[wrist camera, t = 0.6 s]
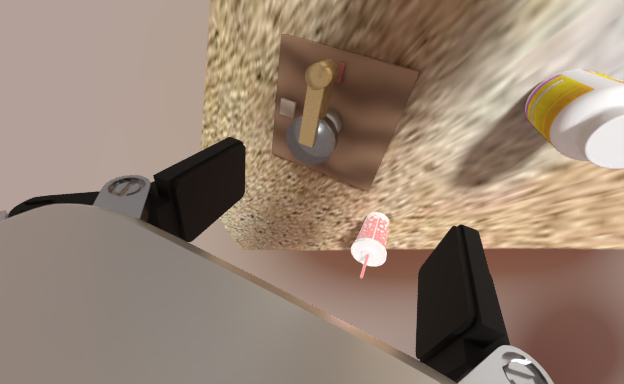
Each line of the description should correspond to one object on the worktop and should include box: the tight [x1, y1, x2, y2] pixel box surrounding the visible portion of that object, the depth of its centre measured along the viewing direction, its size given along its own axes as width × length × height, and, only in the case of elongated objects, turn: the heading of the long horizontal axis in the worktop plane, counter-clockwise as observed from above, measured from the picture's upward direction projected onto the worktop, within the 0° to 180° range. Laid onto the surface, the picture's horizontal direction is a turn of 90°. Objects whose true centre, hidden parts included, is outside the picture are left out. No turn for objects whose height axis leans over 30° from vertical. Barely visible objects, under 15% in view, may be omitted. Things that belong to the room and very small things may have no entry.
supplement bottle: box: [525, 69, 624, 169], centre depth 23 cm, size 7×7×13 cm
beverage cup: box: [351, 212, 389, 278], centre depth 42 cm, size 6×6×14 cm
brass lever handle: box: [286, 59, 339, 165], centre depth 31 cm, size 13×7×4 cm, turn 169°
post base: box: [272, 34, 420, 191], centre depth 37 cm, size 20×20×7 cm
